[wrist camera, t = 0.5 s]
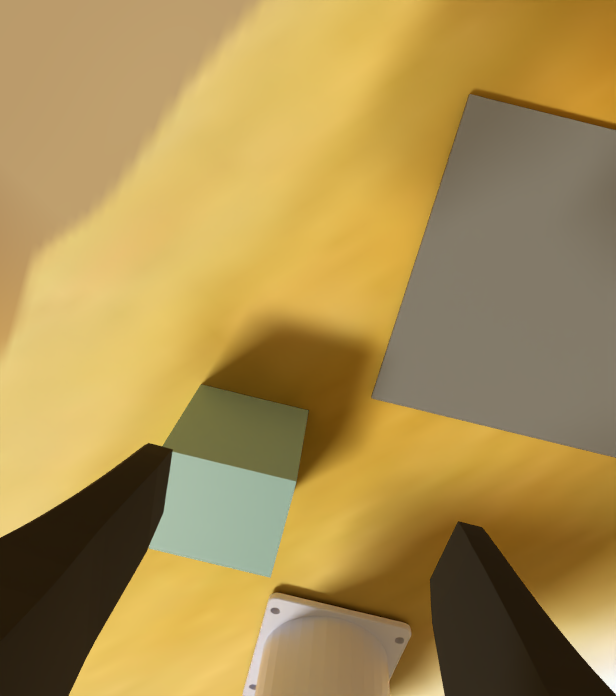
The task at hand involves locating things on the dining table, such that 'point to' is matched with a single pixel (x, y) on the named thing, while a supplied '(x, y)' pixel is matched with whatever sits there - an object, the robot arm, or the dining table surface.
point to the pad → (515, 283)
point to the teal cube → (231, 480)
